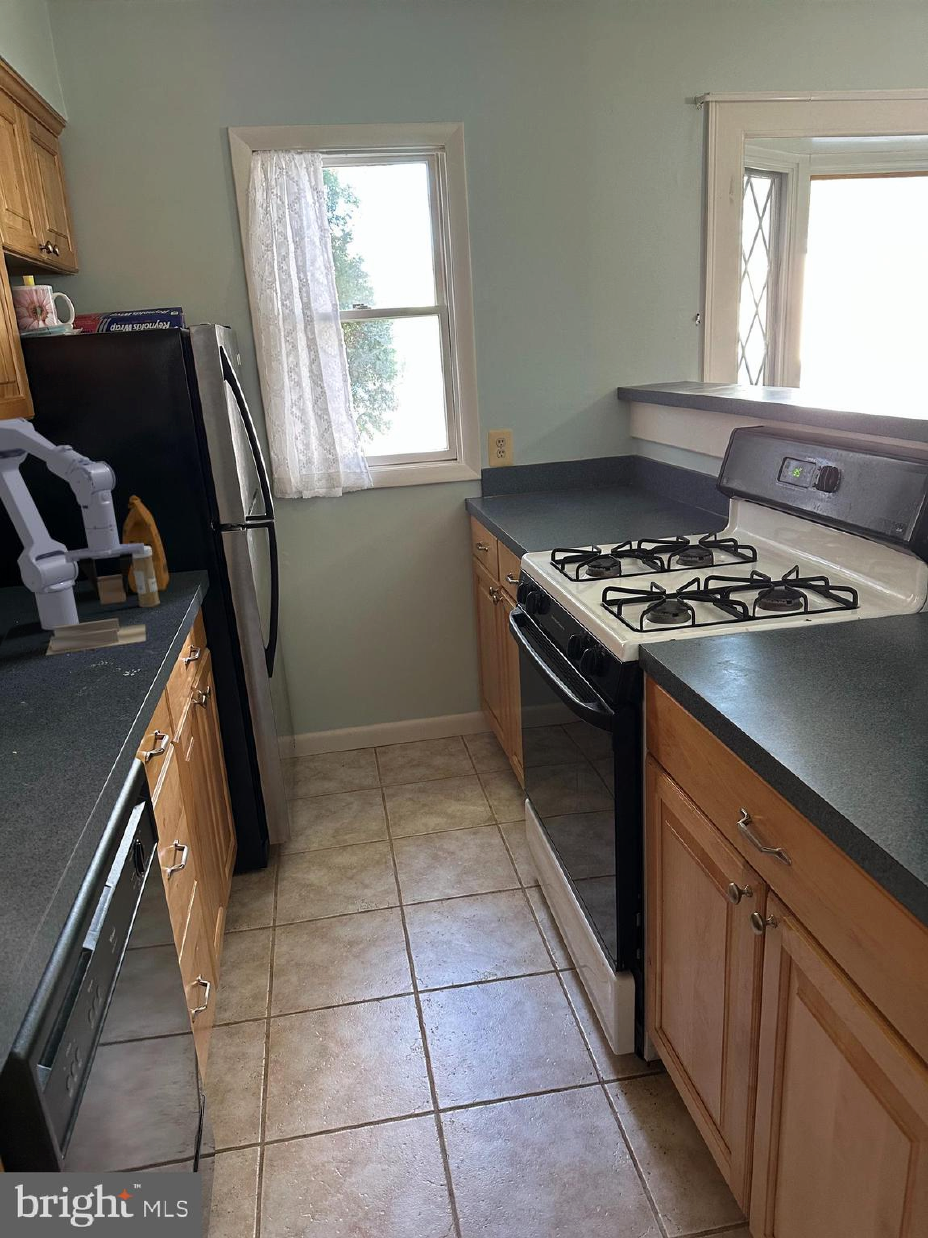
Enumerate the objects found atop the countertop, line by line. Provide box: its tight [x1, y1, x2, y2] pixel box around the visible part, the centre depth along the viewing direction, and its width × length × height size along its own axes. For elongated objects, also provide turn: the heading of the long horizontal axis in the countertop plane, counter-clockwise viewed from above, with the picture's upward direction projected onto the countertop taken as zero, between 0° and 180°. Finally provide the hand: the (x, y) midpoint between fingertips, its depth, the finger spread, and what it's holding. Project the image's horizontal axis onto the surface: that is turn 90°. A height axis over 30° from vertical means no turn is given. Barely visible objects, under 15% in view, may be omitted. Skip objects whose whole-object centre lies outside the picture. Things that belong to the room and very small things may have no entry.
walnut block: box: [97, 573, 127, 605], centre depth 177 cm, size 4×4×4 cm
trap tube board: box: [45, 618, 147, 656], centre depth 176 cm, size 12×18×4 cm, turn 110°
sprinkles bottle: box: [133, 546, 161, 608], centre depth 200 cm, size 5×5×13 cm
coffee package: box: [122, 495, 170, 594], centre depth 215 cm, size 10×12×22 cm
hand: (112, 593), depth 177 cm, fingers closed on walnut block, 4 cm apart
